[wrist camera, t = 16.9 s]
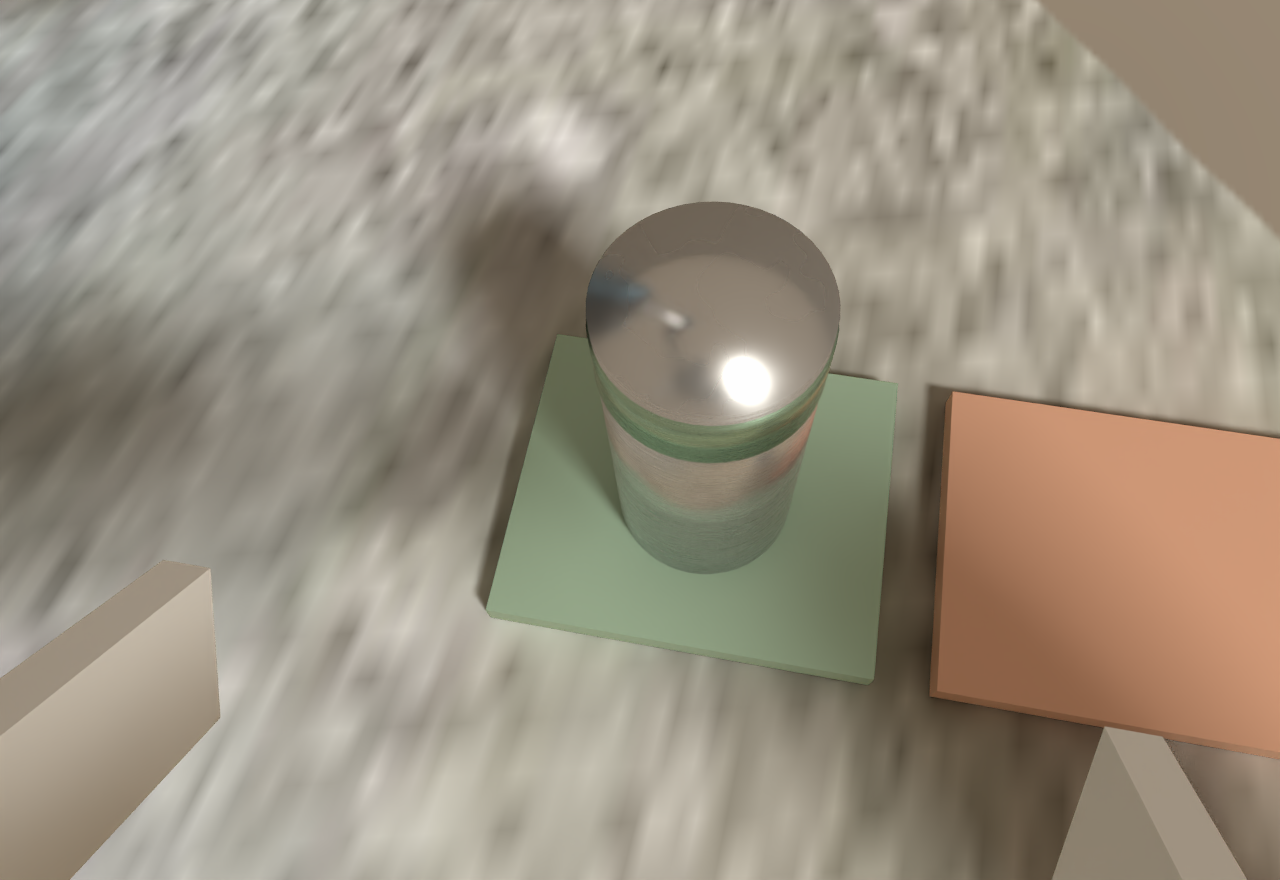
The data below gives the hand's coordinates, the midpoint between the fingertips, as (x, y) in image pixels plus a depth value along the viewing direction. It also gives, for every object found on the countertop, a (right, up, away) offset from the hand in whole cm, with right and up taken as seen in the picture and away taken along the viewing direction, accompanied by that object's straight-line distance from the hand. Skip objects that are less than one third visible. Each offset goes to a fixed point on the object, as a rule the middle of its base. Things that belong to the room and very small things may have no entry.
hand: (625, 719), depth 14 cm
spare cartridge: (+3, +2, +19) cm, 19 cm away
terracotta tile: (+17, 0, +19) cm, 25 cm away
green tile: (+2, +2, +20) cm, 20 cm away
